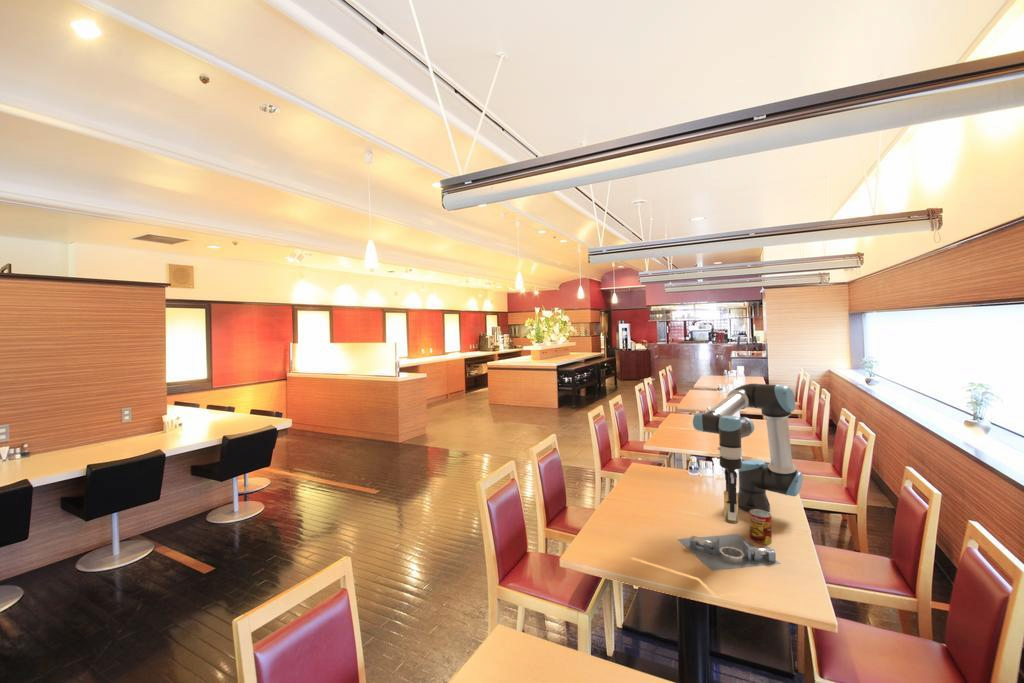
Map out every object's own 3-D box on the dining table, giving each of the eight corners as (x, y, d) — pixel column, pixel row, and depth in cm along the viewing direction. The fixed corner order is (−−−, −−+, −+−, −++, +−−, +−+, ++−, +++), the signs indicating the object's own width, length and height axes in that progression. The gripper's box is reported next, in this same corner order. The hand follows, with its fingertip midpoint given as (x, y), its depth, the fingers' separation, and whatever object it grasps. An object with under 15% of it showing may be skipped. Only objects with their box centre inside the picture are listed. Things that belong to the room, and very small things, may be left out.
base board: (738, 535, 179) (737, 533, 179) (781, 565, 155) (781, 563, 155) (677, 541, 175) (677, 539, 175) (711, 572, 151) (711, 570, 151)
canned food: (745, 539, 176) (745, 511, 176) (758, 535, 179) (757, 507, 179) (763, 547, 168) (762, 518, 168) (776, 543, 172) (775, 514, 171)
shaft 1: (719, 551, 165) (719, 537, 165) (716, 556, 161) (716, 542, 161) (692, 543, 171) (692, 530, 171) (689, 548, 167) (689, 535, 167)
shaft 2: (748, 561, 157) (748, 547, 157) (742, 554, 162) (742, 541, 162) (776, 562, 156) (776, 548, 156) (770, 556, 160) (770, 542, 160)
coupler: (737, 519, 161) (737, 491, 161) (739, 524, 157) (738, 495, 157) (723, 517, 163) (723, 490, 163) (724, 522, 159) (724, 494, 158)
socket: (734, 550, 165) (734, 545, 165) (749, 562, 156) (749, 556, 156) (715, 552, 164) (715, 547, 164) (729, 564, 155) (728, 558, 155)
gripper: (717, 450, 169) (718, 506, 169) (721, 462, 153) (722, 525, 153) (738, 451, 167) (739, 509, 167) (744, 464, 150) (745, 528, 150)
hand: (731, 516), depth 160 cm, fingers closed on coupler, 5 cm apart
